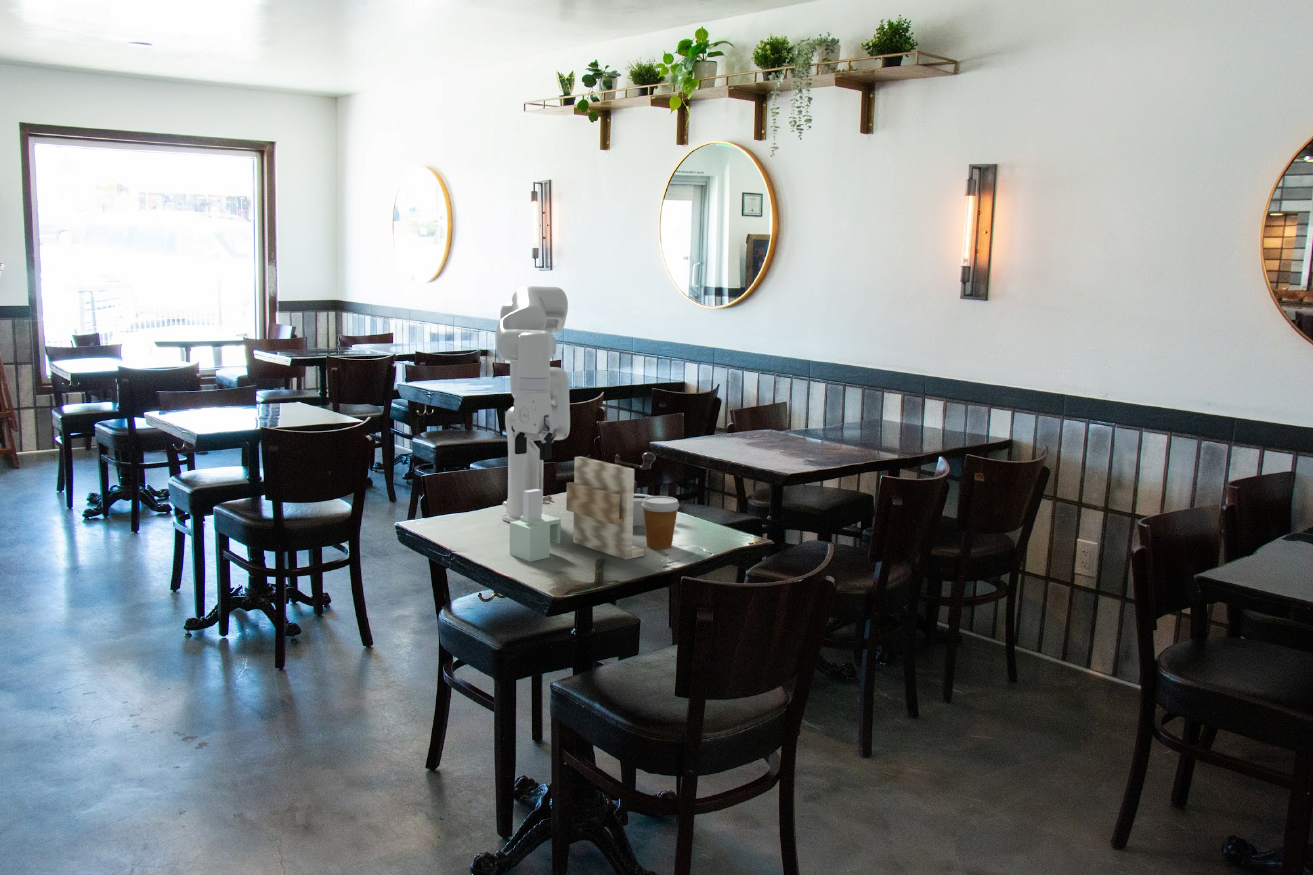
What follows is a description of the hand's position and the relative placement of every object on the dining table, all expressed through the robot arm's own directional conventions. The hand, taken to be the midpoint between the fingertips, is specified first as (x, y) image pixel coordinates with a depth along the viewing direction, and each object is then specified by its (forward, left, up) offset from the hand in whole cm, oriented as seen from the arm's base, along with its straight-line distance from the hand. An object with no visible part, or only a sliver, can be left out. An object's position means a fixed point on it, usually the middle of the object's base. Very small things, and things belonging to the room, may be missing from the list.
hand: (533, 456), depth 246 cm
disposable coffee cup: (+13, +31, -25) cm, 41 cm away
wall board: (+7, +17, -24) cm, 30 cm away
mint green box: (0, +1, -24) cm, 24 cm away
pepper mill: (-20, +49, -25) cm, 58 cm away
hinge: (-7, +40, -25) cm, 48 cm away
